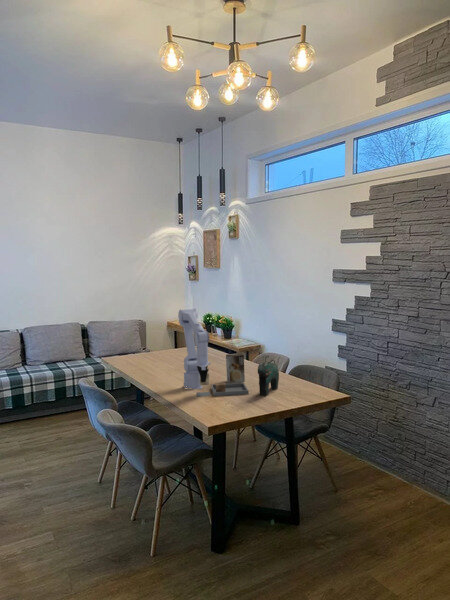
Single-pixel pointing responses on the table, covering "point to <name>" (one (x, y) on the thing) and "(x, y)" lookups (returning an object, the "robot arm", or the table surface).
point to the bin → (231, 389)
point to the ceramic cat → (268, 376)
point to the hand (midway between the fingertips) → (203, 380)
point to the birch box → (206, 380)
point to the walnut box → (220, 387)
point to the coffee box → (235, 368)
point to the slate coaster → (203, 394)
